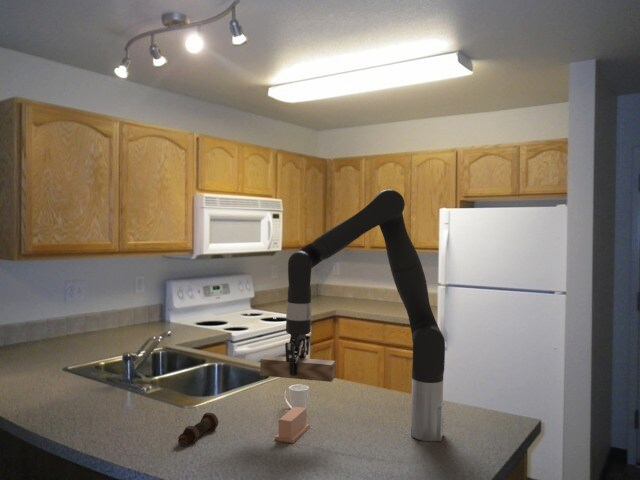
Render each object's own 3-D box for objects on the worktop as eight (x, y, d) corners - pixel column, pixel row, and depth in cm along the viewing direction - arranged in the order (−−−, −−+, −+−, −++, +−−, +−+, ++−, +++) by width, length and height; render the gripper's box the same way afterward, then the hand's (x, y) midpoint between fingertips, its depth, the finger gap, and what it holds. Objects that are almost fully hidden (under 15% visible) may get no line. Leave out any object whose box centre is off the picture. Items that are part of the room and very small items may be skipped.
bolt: (179, 453, 149) (209, 432, 163) (192, 447, 147) (221, 426, 161) (170, 434, 150) (201, 415, 164) (183, 428, 148) (213, 409, 162)
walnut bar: (334, 377, 160) (335, 360, 160) (331, 381, 155) (332, 364, 155) (265, 371, 165) (265, 355, 165) (260, 375, 160) (260, 359, 160)
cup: (299, 416, 174) (299, 391, 174) (277, 409, 180) (277, 385, 180) (313, 410, 179) (313, 387, 179) (291, 404, 185) (291, 381, 185)
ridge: (309, 427, 164) (310, 407, 164) (293, 443, 152) (293, 422, 152) (291, 424, 167) (292, 405, 166) (274, 440, 154) (274, 419, 154)
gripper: (301, 322, 152) (299, 380, 152) (318, 314, 165) (317, 368, 165) (277, 319, 154) (275, 377, 155) (296, 312, 168) (295, 365, 168)
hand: (297, 372), depth 160 cm, fingers closed on walnut bar, 5 cm apart
